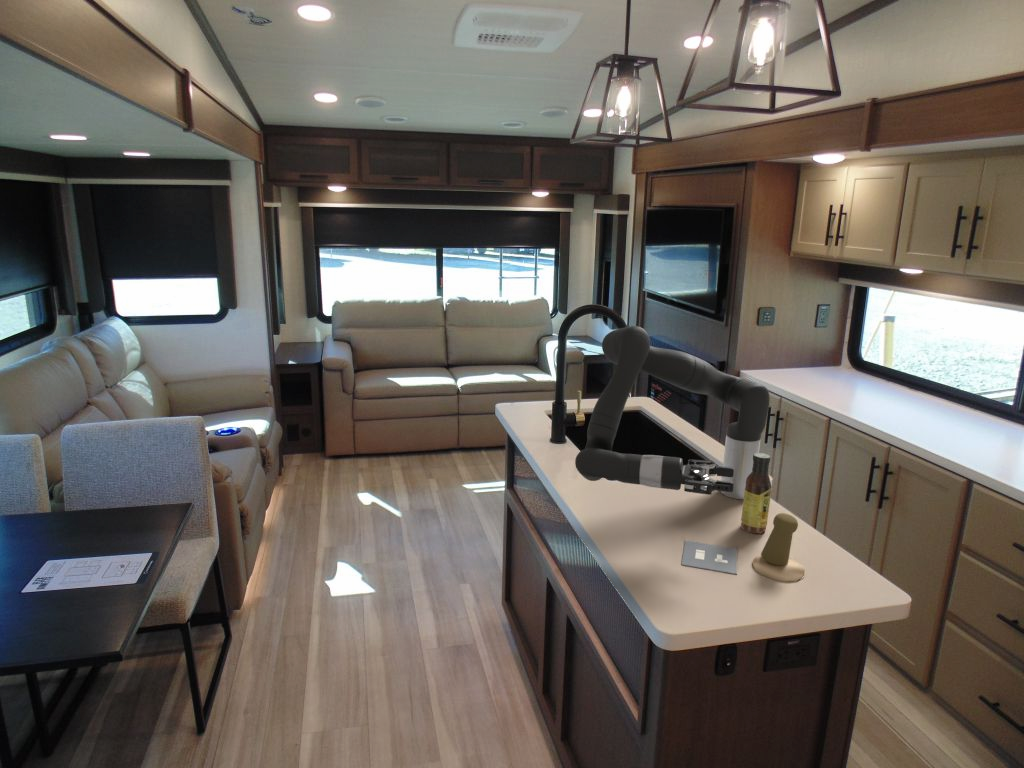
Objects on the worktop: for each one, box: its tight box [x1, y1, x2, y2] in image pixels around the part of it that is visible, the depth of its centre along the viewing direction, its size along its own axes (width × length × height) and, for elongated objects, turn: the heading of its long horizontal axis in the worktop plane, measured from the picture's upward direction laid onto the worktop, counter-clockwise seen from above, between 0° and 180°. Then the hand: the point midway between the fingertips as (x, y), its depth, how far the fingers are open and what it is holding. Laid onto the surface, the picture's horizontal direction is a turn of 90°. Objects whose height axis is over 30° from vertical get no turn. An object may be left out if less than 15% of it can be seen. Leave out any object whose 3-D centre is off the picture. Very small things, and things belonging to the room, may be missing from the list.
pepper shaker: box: [760, 512, 799, 566], centre depth 153 cm, size 6×6×11 cm
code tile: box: [681, 540, 738, 575], centre depth 157 cm, size 12×12×1 cm
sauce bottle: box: [740, 452, 773, 534], centre depth 169 cm, size 6×6×20 cm
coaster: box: [752, 554, 805, 583], centre depth 152 cm, size 11×11×1 cm
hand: (733, 479), depth 152 cm, fingers open, 8 cm apart
